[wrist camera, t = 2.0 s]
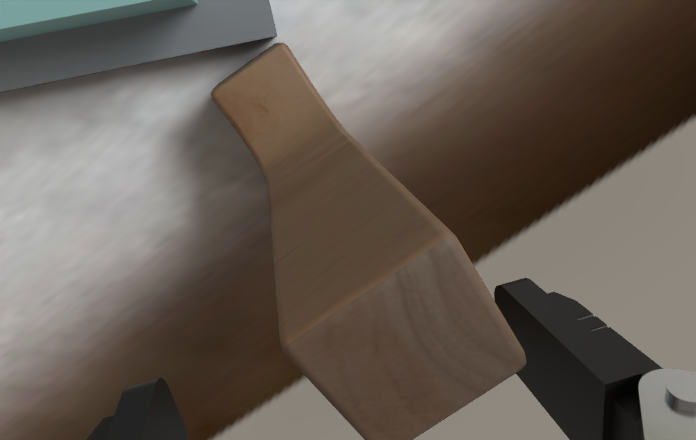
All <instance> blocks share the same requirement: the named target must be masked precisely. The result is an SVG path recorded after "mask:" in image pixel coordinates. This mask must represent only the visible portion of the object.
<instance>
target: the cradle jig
mask: <svg viewBox="0 0 696 440" xmlns="http://www.w3.org/2000/svg"><path fill="white" fill-rule="evenodd" d="M276 36H277V33H276V29H275V24H274V20H273V15H272V11H271V7H270V2H269V0H0V92H4V91H9V90H14V89H19V88H24V87H29V86H34V85H39V84H44V83H49V82H54V81H59V80H63V79H68V78H73V77H78V76H83V75H88V74H93V73H98V72H103V71H108V70H113V69H118V68H123V67H128V66H133V65H138V64H142V63H147V62H152V61H157V60H162V59H167V58H172V57H177V56H182V55H187V54H192V53H197V52H202V51H207V50H212V49H217V48H221V47H226V46H231V45H236V44H241V43H246V42H251V41H256V40H261V39H266V38H271V37H276Z"/></svg>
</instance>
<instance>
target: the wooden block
mask: <svg viewBox="0 0 696 440" xmlns="http://www.w3.org/2000/svg"><path fill="white" fill-rule="evenodd" d="M211 96H212V99H213V100H214V102H215V103H216V104H217V105H218V107H219V108H220V109H221V111H222V112H223V113H224V115H225V116H226V117H227V119H228V120H229V121H230V123H231V124H232V125H233V127H234V128H235V129H236V130H237V132H238V133H239V135H240V136H241V138H242V139H243V141H244V142H245V144H246V145H247V147H248V148H249V150H250V151H251V153H252V154H253V156H254V157H255V159H256V160H257V162H258V164H259V166H260V168H261V170H262V172H263V174H264V176H265V178H266V181H267V183H268V196H269V209H270V222H271V234H272V247H273V260H274V272H275V285H276V298H277V311H278V323H279V336H280V344H281V348H282V351H283V352H284V353H285V355H286V356H287V357H288V358H289V359H290V360H291V361H292V362H293V363H294V364H295V365H296V366H297V367H298V368H299V370H300V371H301V372H302V373H303V374H304V375H305V376H306V377H307V378H308V379H309V380H310V381H311V382H312V383H313V384H314V386H315V387H316V388H317V389H318V390H319V391H320V392H321V393H322V394H323V395H324V396H325V397H326V398H327V400H328V401H329V402H330V403H331V404H332V405H333V406H334V407H335V408H336V409H337V410H338V411H339V412H340V413H341V415H343V417H344V418H345V419H346V420H347V421H348V422H349V423H350V424H351V425H352V426H353V427H354V429H355V430H356V431H357V432H358V433H359V434H360V435H361V436H362V437H363V438H364V439H365V440H413V439H414V438H416V437H417V436H419V435H420V434H422V433H424V432H425V431H427V430H428V429H430V428H431V427H433V426H434V425H436V424H437V423H439V422H441V421H442V420H444V419H445V418H447V417H448V416H450V415H451V414H453V413H455V412H456V411H458V410H459V409H461V408H462V407H464V406H466V405H467V404H468V403H470V402H472V401H473V400H475V399H476V398H478V397H479V396H481V395H483V394H484V393H486V392H487V391H489V390H490V389H492V388H493V387H495V386H497V385H498V384H500V383H501V382H503V381H504V380H506V379H507V378H509V377H511V376H512V375H514V374H515V373H517V372H518V371H520V370H521V369H522V368H523V367H524V366H525V364H526V357H525V352H524V350H523V348H522V346H521V345H520V343H519V341H518V340H517V338H516V336H515V335H514V333H513V331H512V330H511V328H510V326H509V325H508V323H507V321H506V320H505V318H504V316H503V314H502V313H501V311H500V309H499V308H498V306H497V304H496V303H495V301H494V299H493V298H492V296H491V294H490V293H489V291H488V289H487V288H486V286H485V284H484V283H483V281H482V279H481V277H480V276H479V274H478V273H477V271H476V269H475V267H474V266H473V264H472V262H471V261H470V259H469V257H468V256H467V254H466V252H465V251H464V249H463V247H462V246H461V244H460V242H459V240H458V239H457V237H456V236H455V235H454V234H453V233H452V232H451V231H450V230H449V229H448V228H447V227H446V226H445V225H444V224H443V223H442V222H441V221H440V220H439V219H438V218H437V217H435V216H434V215H433V214H432V213H431V212H430V211H429V210H428V209H427V208H426V207H425V206H424V205H423V204H422V203H421V202H420V201H419V200H418V199H417V198H416V197H415V196H413V195H412V194H411V193H410V192H409V191H408V190H407V189H406V188H405V187H404V186H403V185H402V184H401V183H400V182H399V181H398V180H397V179H396V178H395V177H394V176H393V175H391V174H390V173H389V172H388V171H387V170H386V169H385V168H384V167H383V166H382V165H381V164H380V163H379V162H378V161H377V160H376V159H375V158H374V157H373V156H372V155H371V154H369V153H368V152H367V151H366V150H365V149H364V148H363V147H362V146H361V145H360V144H359V143H358V142H357V141H356V140H355V139H354V138H353V137H352V136H351V135H350V134H349V133H347V132H346V130H345V129H344V128H343V127H342V125H341V124H340V123H339V121H338V120H337V119H336V117H335V116H334V115H333V114H332V112H331V111H330V109H329V108H328V106H327V105H326V104H325V102H324V101H323V99H322V98H321V96H320V95H319V93H318V92H317V90H316V89H315V87H314V86H313V84H312V83H311V82H310V80H309V78H308V77H307V75H306V74H305V72H304V71H303V69H302V68H301V66H300V65H299V63H298V62H297V60H296V58H295V57H294V55H293V54H292V52H291V51H290V49H289V48H288V46H287V45H286V44H284V43H277V44H274V45H272V46H271V47H270V48H268V49H267V50H265V51H264V52H263V53H261V54H260V55H258V56H257V57H255V58H254V59H253V60H251V61H250V62H248V63H247V64H246V65H244V66H243V67H241V68H240V69H239V70H237V71H236V72H234V73H233V74H231V75H230V76H229V77H227V78H226V79H224V80H223V81H222V82H220V83H219V84H218V85H217V86H216V87H215V88H214V89H213V91H212V92H211Z"/></svg>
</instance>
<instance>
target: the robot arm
mask: <svg viewBox="0 0 696 440" xmlns="http://www.w3.org/2000/svg"><path fill="white" fill-rule="evenodd" d="M494 296H495V303H496V304H497V306H498V308H499V309H500V311H501V313H502V314H503V316H504V318H505V320H506V321H507V323H508V325H509V326H510V328H511V330H512V331H513V333H514V335H515V336H516V338H517V340H518V341H519V343H520V345H521V346H522V348H523V350H524V352H525V357H526V364H525V366H524V367H523V368H522V369H521V370H520V371H518V372H517V373H516V374H517V375H518V376H519V377H520V379H521V380H522V381H523V383H524V384H525V385H526V386H527V387H528V388H529V390H530V391H531V392H532V394H533V395H534V396H535V397H536V399H537V400H538V401H539V402H540V403H541V405H542V406H543V407H544V408H545V410H546V411H547V412H548V413H549V415H550V416H551V417H552V418H553V419H554V421H555V422H556V423H557V424H558V426H559V427H560V428H561V429H562V431H563V432H564V433H565V434H566V435H567V437H568V438H569V439H570V440H696V373H693V372H690V371H686V370H680V369H663V368H661V367H660V366H659V365H658V364H656V363H655V362H654V361H653V360H651V359H650V358H649V357H647V356H646V355H645V354H644V353H642V352H641V351H640V350H638V349H637V348H636V347H634V346H633V345H632V344H631V343H629V342H628V341H627V340H626V339H624V338H623V337H622V336H620V335H619V334H618V333H617V332H615V331H614V330H613V329H611V328H610V327H609V328H608V327H607V325H606V324H605V323H604V322H603V321H601V320H600V319H599V318H597V317H594V316H593V314H592V313H591V312H590V311H589V310H587V309H586V308H585V307H583V306H582V305H581V304H580V303H578V302H577V301H575V300H573V299H570V298H568V297H566V296H563V295H561V294H558V293H556V292H552V293H548V294H547V293H546V292H544V291H543V290H542V289H541V288H539V287H538V286H537V285H536V284H535V283H534V282H532V281H531V280H530V279H527V278H524V279H520V280H517V281H513V282H509V283H506V284H502V285H499V286H496V288H495V292H494ZM86 440H189V439H188V433H187V430H186V427H185V424H184V422H183V420H182V417H181V415H180V413H179V411H178V408H177V406H176V404H175V402H174V399H173V397H172V395H171V392H170V390H169V388H168V386H167V384H166V382H165V381H164V380H163V379H162V378H159V379H156V380H152V381H149V382H145V383H141V384H138V385H134V386H131V387H127V388H126V389H125V390H124V391H123V393H122V396H121V399H120V401H119V404H118V407H117V409H116V412H115V415H114V416H111V417H107V418H104V419H103V420H102V421H101V422H100V424H99V425H98V426H97V427H96V428H95V430H94V431H93V432H92V433H91V435H90V436H89V437H88V438H87V439H86Z"/></svg>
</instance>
